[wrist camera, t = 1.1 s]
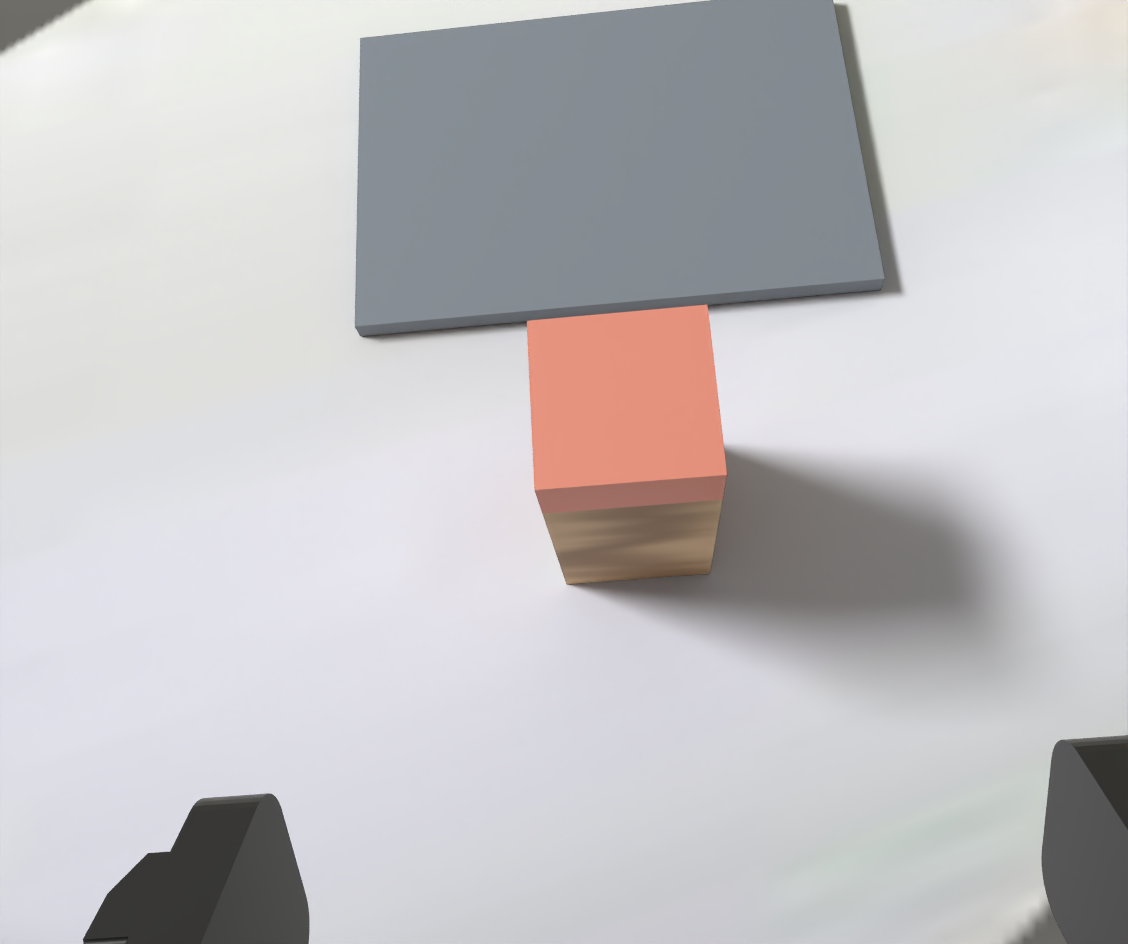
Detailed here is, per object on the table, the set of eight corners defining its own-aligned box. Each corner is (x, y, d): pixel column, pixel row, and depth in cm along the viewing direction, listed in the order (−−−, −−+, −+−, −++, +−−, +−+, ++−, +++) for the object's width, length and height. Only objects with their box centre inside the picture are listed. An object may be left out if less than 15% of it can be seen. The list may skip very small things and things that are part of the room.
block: (566, 584, 37) (534, 490, 27) (559, 451, 38) (526, 320, 29) (709, 573, 36) (727, 474, 27) (695, 440, 38) (707, 304, 29)
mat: (360, 336, 41) (354, 326, 40) (365, 51, 46) (360, 38, 45) (880, 289, 39) (884, 278, 39) (827, 2, 44) (830, -13, 44)
